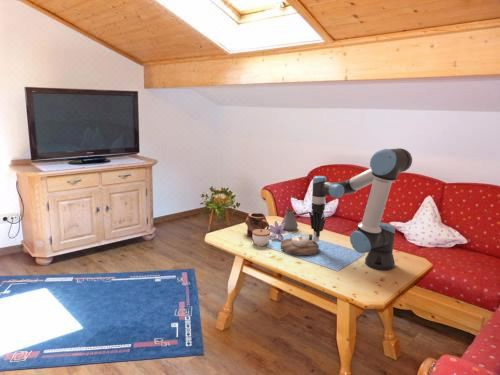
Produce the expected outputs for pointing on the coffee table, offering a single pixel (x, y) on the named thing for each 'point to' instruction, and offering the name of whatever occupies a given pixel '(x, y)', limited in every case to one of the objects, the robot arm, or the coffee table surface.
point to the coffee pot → (290, 220)
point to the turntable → (307, 250)
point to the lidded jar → (260, 236)
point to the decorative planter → (256, 222)
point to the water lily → (277, 231)
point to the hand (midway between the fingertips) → (316, 241)
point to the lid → (299, 241)
